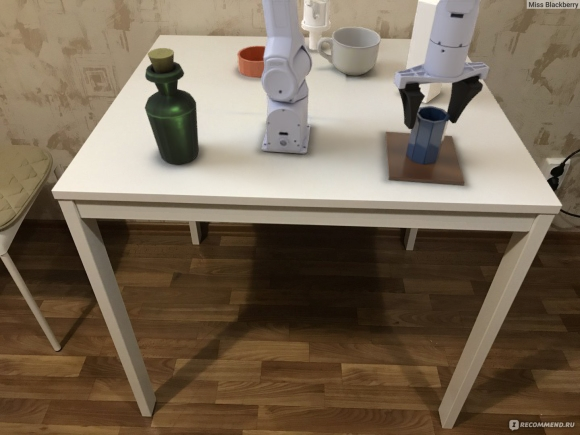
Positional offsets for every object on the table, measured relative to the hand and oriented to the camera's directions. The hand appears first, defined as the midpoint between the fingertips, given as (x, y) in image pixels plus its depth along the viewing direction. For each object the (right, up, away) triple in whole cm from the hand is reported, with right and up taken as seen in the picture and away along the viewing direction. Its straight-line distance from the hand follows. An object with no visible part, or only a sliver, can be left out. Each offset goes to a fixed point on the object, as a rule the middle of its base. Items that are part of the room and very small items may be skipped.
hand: (430, 123), depth 75 cm
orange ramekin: (-30, +18, +30) cm, 47 cm away
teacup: (-10, +19, +31) cm, 37 cm away
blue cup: (0, -5, +4) cm, 6 cm away
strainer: (-17, +27, +40) cm, 51 cm away
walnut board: (0, -5, +5) cm, 7 cm away
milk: (+5, +11, +22) cm, 25 cm away
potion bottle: (-42, -5, +5) cm, 43 cm away
